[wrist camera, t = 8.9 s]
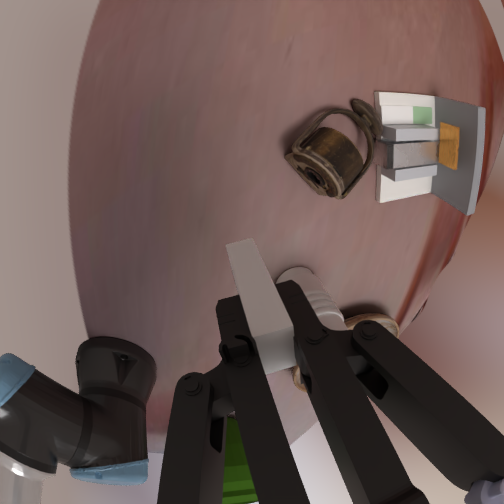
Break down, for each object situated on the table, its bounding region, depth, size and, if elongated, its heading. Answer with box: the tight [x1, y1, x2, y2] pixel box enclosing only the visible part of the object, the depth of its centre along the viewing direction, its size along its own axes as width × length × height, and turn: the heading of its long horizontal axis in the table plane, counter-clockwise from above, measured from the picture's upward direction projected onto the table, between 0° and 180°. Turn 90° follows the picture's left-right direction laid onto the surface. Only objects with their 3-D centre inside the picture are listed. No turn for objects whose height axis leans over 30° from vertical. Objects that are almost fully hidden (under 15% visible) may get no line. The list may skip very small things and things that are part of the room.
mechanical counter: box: [285, 99, 383, 199], centre depth 26 cm, size 7×13×10 cm
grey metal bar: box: [374, 122, 460, 170], centre depth 26 cm, size 10×6×6 cm, turn 99°
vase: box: [222, 417, 258, 504], centre depth 51 cm, size 20×20×24 cm
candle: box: [276, 267, 348, 330], centre depth 33 cm, size 7×7×15 cm
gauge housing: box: [374, 92, 485, 215], centre depth 27 cm, size 12×15×9 cm
